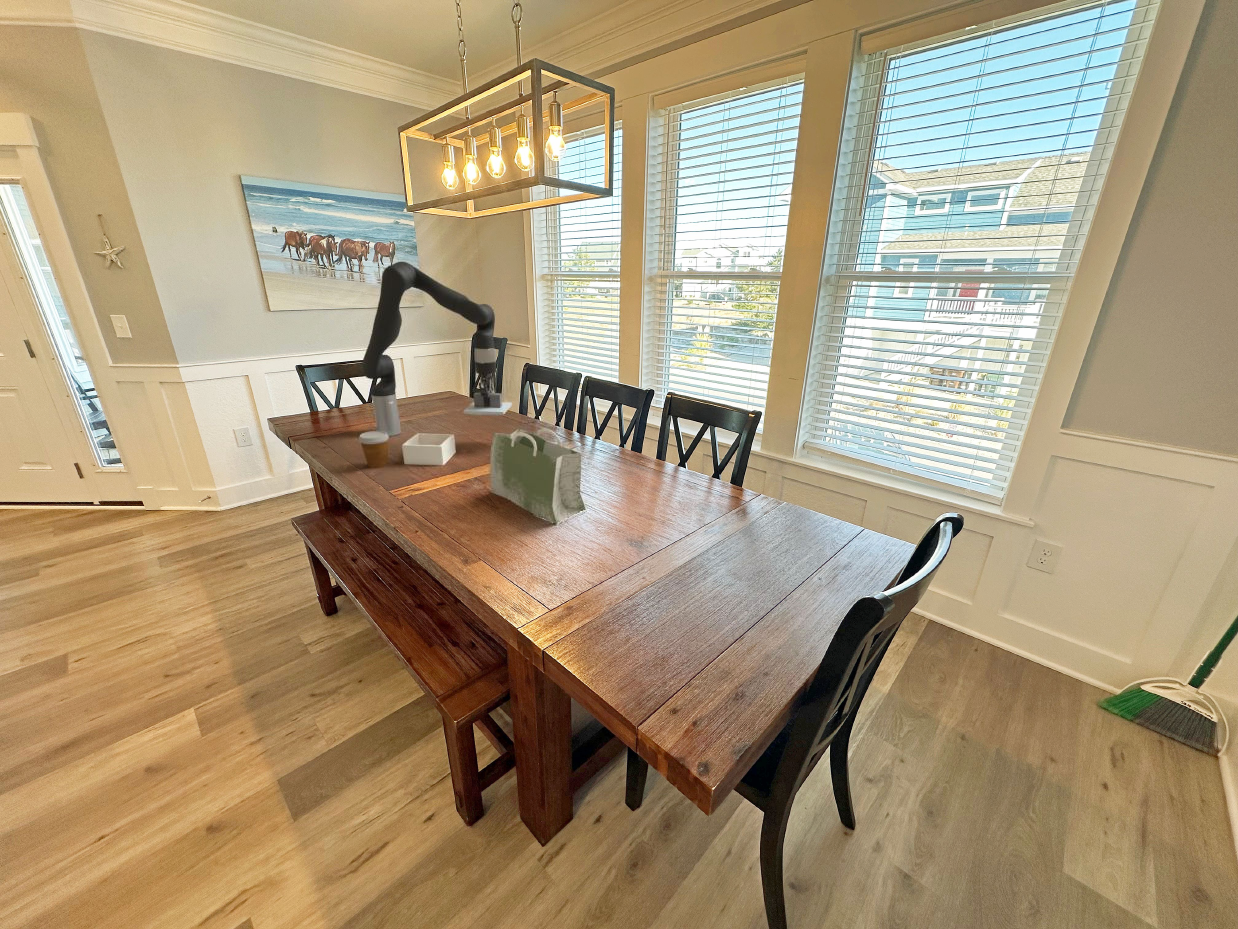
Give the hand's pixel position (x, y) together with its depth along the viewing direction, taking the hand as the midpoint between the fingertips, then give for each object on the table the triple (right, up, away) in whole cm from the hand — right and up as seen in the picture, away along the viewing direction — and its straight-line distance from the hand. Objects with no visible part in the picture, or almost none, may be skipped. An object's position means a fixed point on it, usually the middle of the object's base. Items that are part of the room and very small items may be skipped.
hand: (488, 404), depth 189 cm
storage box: (-20, -21, -7) cm, 30 cm away
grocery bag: (+25, -35, -37) cm, 57 cm away
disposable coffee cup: (-36, -24, -14) cm, 45 cm away
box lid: (0, -2, +1) cm, 2 cm away
